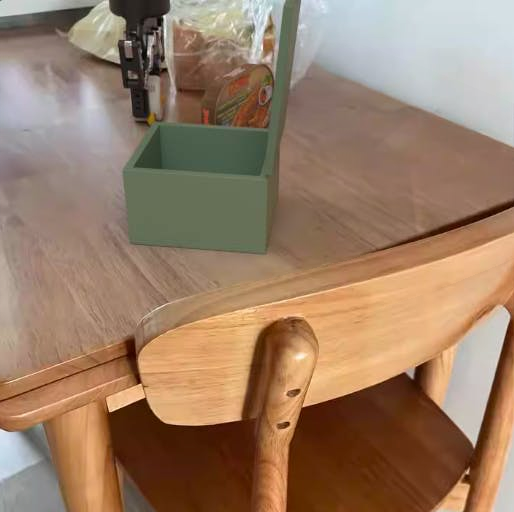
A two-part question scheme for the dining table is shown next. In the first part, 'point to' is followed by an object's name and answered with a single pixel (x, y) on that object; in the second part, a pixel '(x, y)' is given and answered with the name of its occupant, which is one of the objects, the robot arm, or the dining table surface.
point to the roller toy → (153, 100)
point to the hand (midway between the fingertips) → (147, 107)
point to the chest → (201, 188)
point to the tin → (239, 98)
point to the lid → (282, 81)
